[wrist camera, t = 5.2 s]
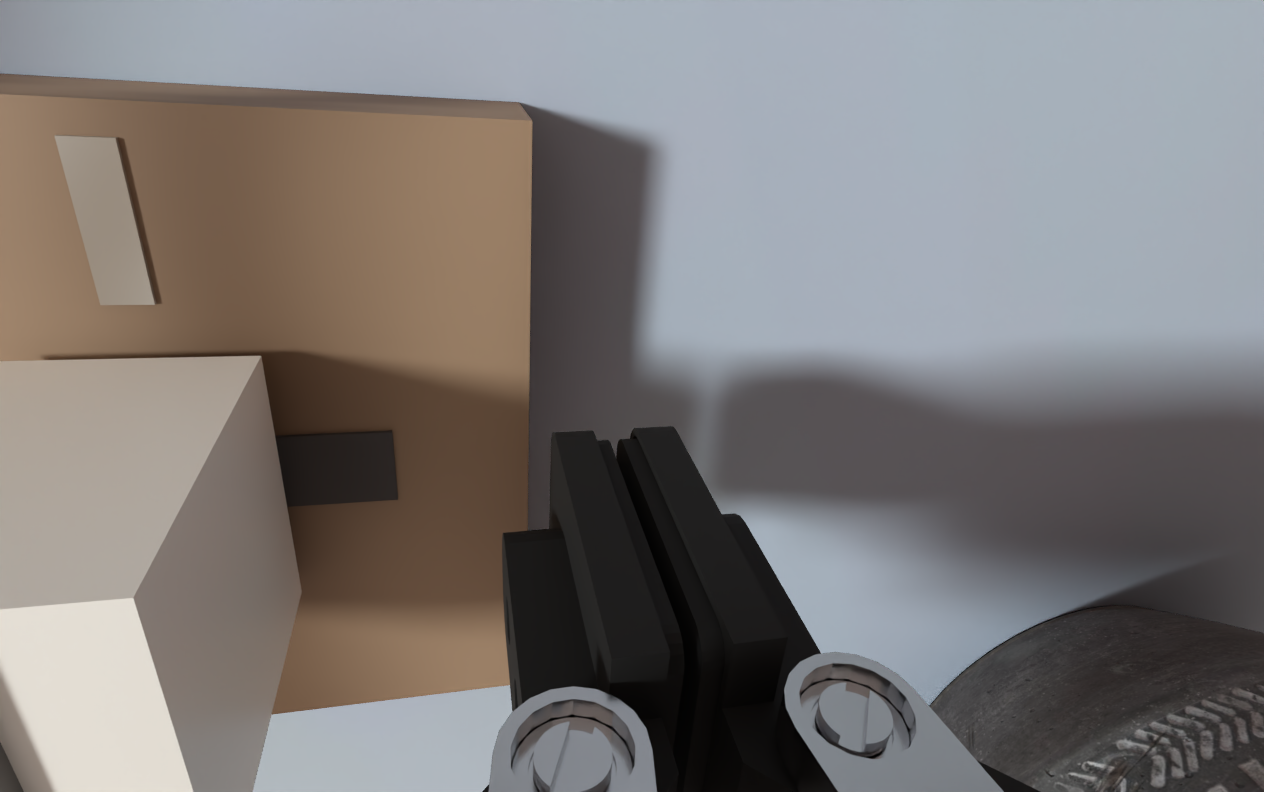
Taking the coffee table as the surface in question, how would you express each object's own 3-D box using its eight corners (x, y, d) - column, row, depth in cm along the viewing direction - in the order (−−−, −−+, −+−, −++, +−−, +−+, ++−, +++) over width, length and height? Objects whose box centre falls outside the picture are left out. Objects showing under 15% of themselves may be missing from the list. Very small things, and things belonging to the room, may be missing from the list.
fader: (261, 355, 9) (123, 616, 5) (301, 592, 11) (221, 918, 7) (-11, 361, 9) (-398, 663, 5) (79, 612, 11) (-146, 984, 7)
